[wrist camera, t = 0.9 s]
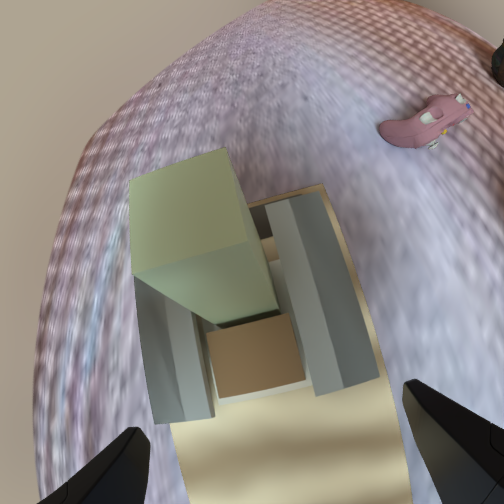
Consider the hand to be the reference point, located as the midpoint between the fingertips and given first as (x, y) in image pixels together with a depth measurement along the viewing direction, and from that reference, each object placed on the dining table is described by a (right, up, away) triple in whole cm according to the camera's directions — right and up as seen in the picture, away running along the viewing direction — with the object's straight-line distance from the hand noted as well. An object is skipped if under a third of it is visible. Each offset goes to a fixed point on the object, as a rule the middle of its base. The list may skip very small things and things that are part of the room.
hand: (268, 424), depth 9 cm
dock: (0, 0, +13) cm, 13 cm away
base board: (+1, -3, +13) cm, 13 cm away
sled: (0, 0, +13) cm, 13 cm away
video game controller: (+17, +17, +18) cm, 31 cm away
